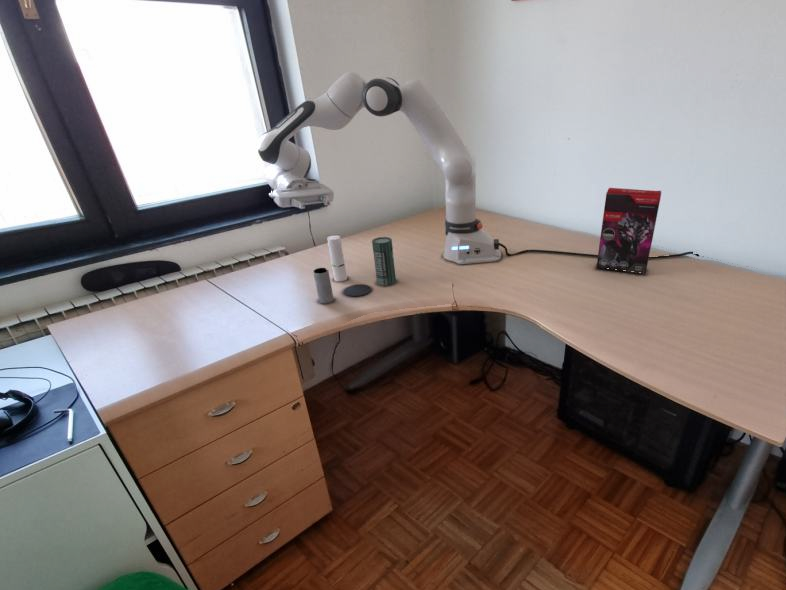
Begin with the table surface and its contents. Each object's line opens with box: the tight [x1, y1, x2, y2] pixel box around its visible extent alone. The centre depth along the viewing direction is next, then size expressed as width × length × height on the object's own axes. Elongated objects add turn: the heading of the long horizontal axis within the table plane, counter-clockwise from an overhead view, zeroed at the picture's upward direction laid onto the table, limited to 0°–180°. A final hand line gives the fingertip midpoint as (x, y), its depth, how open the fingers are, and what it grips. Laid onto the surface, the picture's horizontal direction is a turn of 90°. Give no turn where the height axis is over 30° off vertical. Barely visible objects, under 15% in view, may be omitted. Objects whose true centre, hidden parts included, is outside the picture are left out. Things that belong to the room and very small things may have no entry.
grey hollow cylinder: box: [312, 267, 334, 304], centre depth 143 cm, size 4×4×10 cm
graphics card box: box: [596, 187, 662, 275], centre depth 155 cm, size 17×7×27 cm, turn 68°
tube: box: [326, 235, 348, 282], centre depth 156 cm, size 4×4×15 cm
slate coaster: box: [343, 283, 372, 298], centre depth 151 cm, size 9×9×1 cm
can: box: [371, 236, 397, 287], centre depth 153 cm, size 6×6×15 cm
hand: (316, 204), depth 153 cm, fingers open, 8 cm apart
